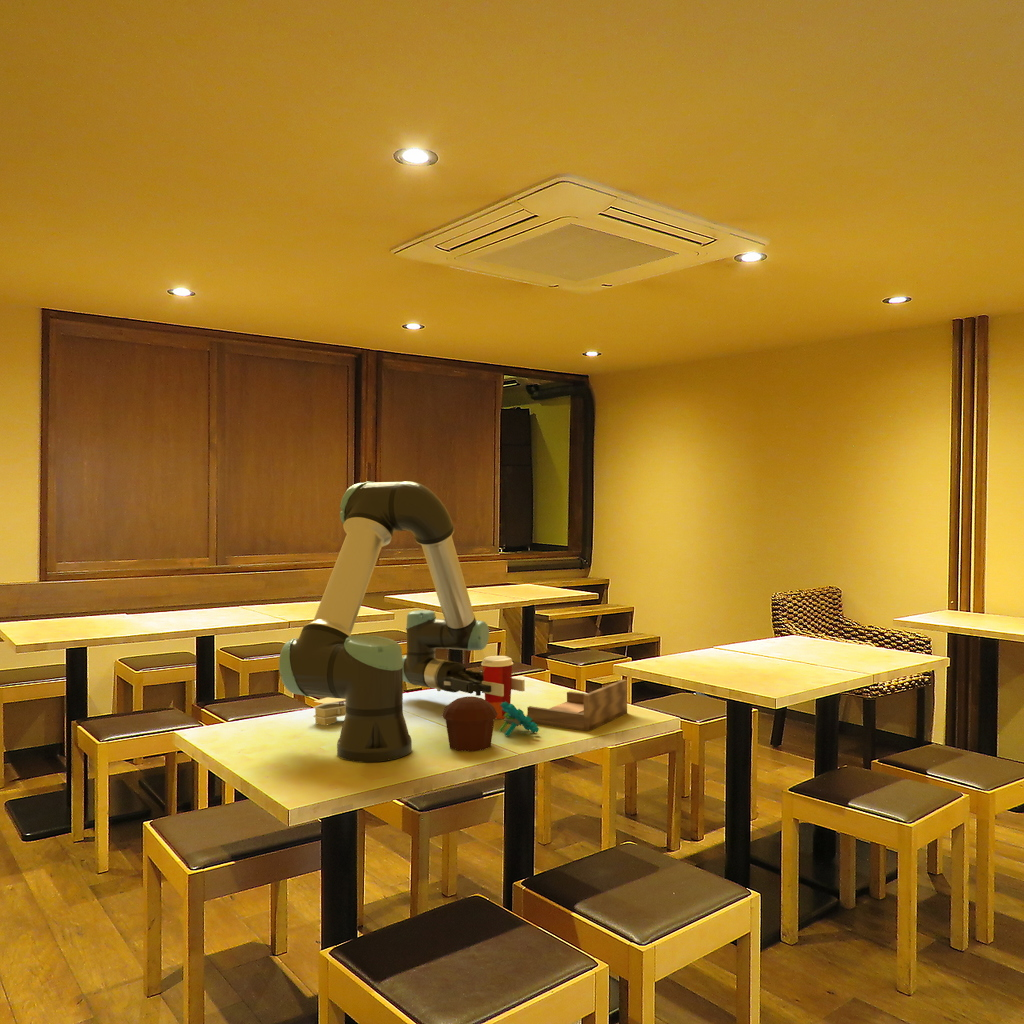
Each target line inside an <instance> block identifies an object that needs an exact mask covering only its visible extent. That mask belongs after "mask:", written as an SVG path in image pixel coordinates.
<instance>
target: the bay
mask: <svg viewBox="0 0 1024 1024" xmlns="http://www.w3.org/2000/svg"><path fill="white" fill-rule="evenodd" d="M626 714H628V680H627V679H620V680H618V681H615V682H613V683H610V684H608V685H606V686H602V687H600V688H598V689H595V690H593V691H590V692H587V693H585V692H576V691H567V692H566V701H565V702H562V703H560V704H557V705H555V706H552V707H549V708H547V707H546V708H545V707H538V706H533V705H532V706H531V705H529V706H527V716H529V717H530V718H531V719H532V720H531V722H535V723H536V724H537V725H543V726H550V727H558V728H563V729H570V730H571V729H572V730H576V731H577V730H578V731H583V732H590V731H592V730H595V729H597V728H599V727H601V726H603V725H605V724H608V723H609V722H611V721H614V720H616V719H618V718H620V717H622V716H624V715H626ZM615 718H616V719H615Z"/></svg>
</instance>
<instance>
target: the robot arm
mask: <svg viewBox="0 0 1024 1024" xmlns="http://www.w3.org/2000/svg"><path fill="white" fill-rule="evenodd" d="M339 508H340V509H341V511H340V512H339V516H340V521H341V523H342V526H343V530H344V533H345V538H344V540H343V543H342V545H341V548H340V550H339V553H338V555H337V559H336V561H335V564H334V566H333V569H332V571H331V574H330V576H329V579H328V581H327V585H326V587H325V590H324V592H323V594H322V596H321V597H322V598H321V599H320V603H319V606H318V607H317V611H316V613H315V615H314V618H313V621H311V622H309V623H306V624H305V625H304V626H303V627H302V629H301V631H300V635H299V637H298V638H297V637H295V638H292V639H289V640H287V641H286V642H285V643H284V644H283V646H282V648H281V650H280V654H279V659H278V671H279V675H280V679H281V683H282V684H283V686H284V687H285V689H286V690H287V691H288V692H290V693H291V694H294V695H300V696H304V697H307V698H310V697H318V698H327V697H329V698H341V699H345V700H344V702H345V704H346V715H345V716H344V719H343V723H342V727H341V730H340V733H339V734H340V735H339V738H338V740H337V744H336V750H337V751H336V752H337V753H336V754H337V756H338V757H339V758H341V759H343V760H346V761H349V762H350V761H351V762H358V763H359V762H362V763H373V762H375V763H378V762H386V761H391V760H396V759H400V758H402V757H406V756H407V755H409V754H411V752H412V751H413V750H412V749H413V748H412V747H413V745H412V743H413V742H412V738H411V735H410V734H409V731H408V729H409V728H408V726H407V723H406V719H405V715H404V704H403V703H404V702H403V700H404V697H403V694H404V689H403V685H404V684H403V682H405V683H407V684H410V685H414V686H420V687H425V688H430V689H436V690H437V692H441V691H444V692H449V693H458V692H463V693H467V694H470V695H471V694H474V693H475V697H479V696H481V694H485V693H486V694H491V695H496V696H501V697H502V696H504V684H499V683H493V682H487V681H484V678H483V669H480V670H479V671H474V670H472V669H466V667H465V665H464V664H462V663H461V662H458V661H451V660H447V659H439V658H436V651H437V650H436V649H444V650H445V649H446V650H448V649H449V650H459V651H460V650H461V651H462V650H463V651H468V652H470V651H482V650H484V649H486V647H487V645H488V643H489V639H490V630H489V629H490V628H489V625H488V624H487V622H486V621H484V620H480V619H478V620H477V619H476V616H475V613H474V610H473V606H472V603H471V599H470V595H469V592H468V589H467V586H466V582H465V578H464V575H463V571H462V567H461V564H460V560H459V556H458V554H457V550H456V547H455V543H454V539H453V534H454V533H455V527H454V524H453V520H452V518H451V515H450V513H449V511H448V509H447V508H446V505H445V504H444V503H443V502H442V501H441V499H440V498H439V497H438V496H437V495H436V494H435V492H433V491H432V490H431V489H430V488H429V487H427V486H425V485H423V484H422V483H419V482H416V481H409V480H406V481H405V480H404V481H381V482H380V481H377V482H375V481H365V482H358V483H355V484H352V485H351V486H349V487H348V488H347V490H346V491H345V492H344V494H343V496H342V497H341V502H340V506H339ZM402 531H403V532H406V531H407V532H411V533H412V534H413V537H414V540H415V542H416V543H417V544H418V545H421V548H422V551H423V552H422V553H423V554H424V558H425V561H426V565H427V567H428V571H429V573H430V577H431V580H432V583H433V587H434V590H435V593H436V595H437V599H438V602H439V605H440V608H441V609H440V610H441V611H442V615H443V617H444V618H443V619H441V618H437V617H436V612H435V611H433V610H428V609H425V610H424V609H422V610H421V609H420V610H419V609H418V610H412V611H409V612H408V613H407V615H406V627H405V631H406V655H405V656H403V651H402V650H403V649H402V647H401V645H400V644H399V643H398V642H397V640H394V639H392V638H388V637H385V636H380V635H373V634H371V635H366V634H355V635H352V632H353V629H354V626H355V623H356V620H357V618H358V615H359V612H360V610H361V606H362V604H363V601H364V597H365V595H366V592H367V590H368V586H369V584H370V581H371V578H372V575H373V573H374V569H375V567H376V564H377V561H378V559H379V556H380V552H381V550H382V547H385V546H388V545H389V544H390V543H391V541H392V538H393V536H394V533H395V532H402ZM511 691H518V692H522V693H523V692H525V691H526V688H525V679H522V678H516V677H512V679H511Z"/></svg>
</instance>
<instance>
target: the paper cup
mask: <svg viewBox="0 0 1024 1024" xmlns="http://www.w3.org/2000/svg"><path fill="white" fill-rule="evenodd" d="M512 659H513V658H511V657H509V656H507V655H490V656H486V657H484V658H483V659H482V660H481V663H480V665H481V666H482V670H483V678H484V681H487V682H493V683H499V684H504V696H502V697H501V696H496V695H491V694H486V693H484V700H486V701H487V702H489V703H490V704H491V705H492V706H493V707H494V708H495V710H496V712H497V714H498V715H497V716H496V718H495V719H494V720H504V719H505V717H504V715H505V713H506V712H504V711H503V710H502V709H503V708H502V707H501V704H502V702H505V701H506V702H507V703H508V704H509V705H510V704H511V697H512V689H511V679H512V678H513V677H512V675H513V672H512V671H513V665H514V662H513V660H512Z"/></svg>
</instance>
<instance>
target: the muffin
mask: <svg viewBox="0 0 1024 1024" xmlns="http://www.w3.org/2000/svg"><path fill="white" fill-rule="evenodd" d="M497 715H498V714H497V712H496V710H495V708H494V707H493V706H492V705H491V704H490V703H489V702H487V701H486V700H485V698H482V697H479V696H472V695H471V696H462V697H458V698H456V699H455V700H453V701H451V702H449V704H448V705H446V707H444V710H443V712H442V713H441V717H442V718H443V719H444V720H445V725H446V731H447V738H448V743H449V744H448V745H449V749H452V750H455V751H458V752H468V753H472V752H478V751H485V750H487V749H489V748H491V747H492V741H493V740H492V739H493V734H494V733H493V732H494V726H495V725H494V723H495V720H496V719H495V718H496V716H497Z"/></svg>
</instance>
